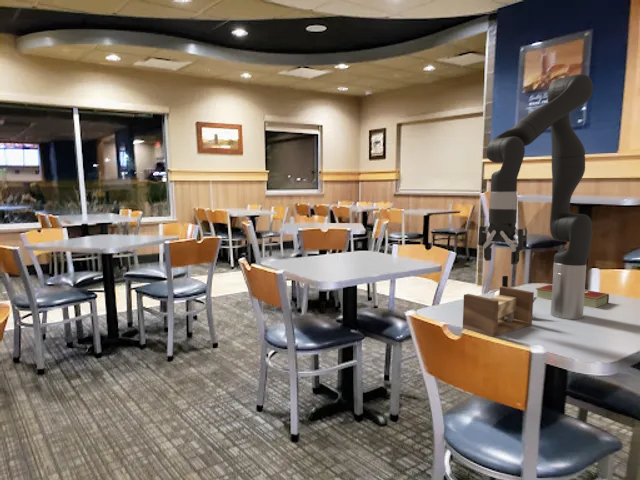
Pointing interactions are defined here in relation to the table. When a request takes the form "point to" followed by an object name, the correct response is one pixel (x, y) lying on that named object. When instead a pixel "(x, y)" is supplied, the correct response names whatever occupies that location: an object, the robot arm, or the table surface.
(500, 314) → the shelf board
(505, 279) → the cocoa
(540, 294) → the hardcover book
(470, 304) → the peg rack
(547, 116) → the robot arm
